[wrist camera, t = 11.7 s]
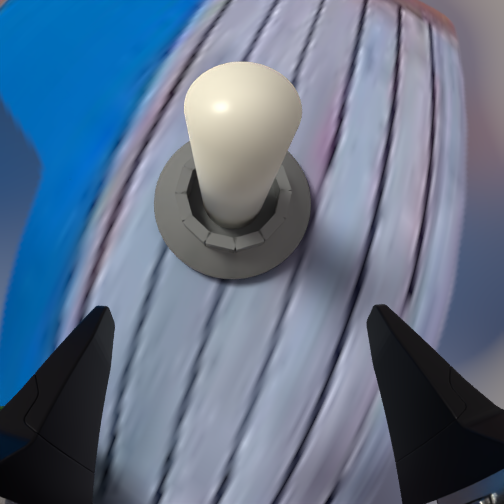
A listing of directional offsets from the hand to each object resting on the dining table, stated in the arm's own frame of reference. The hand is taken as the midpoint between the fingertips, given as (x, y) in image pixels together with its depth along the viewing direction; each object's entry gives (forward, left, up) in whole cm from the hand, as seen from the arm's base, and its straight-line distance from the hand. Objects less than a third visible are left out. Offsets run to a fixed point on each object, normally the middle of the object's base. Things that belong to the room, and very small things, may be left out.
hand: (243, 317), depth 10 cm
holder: (+6, +5, -14) cm, 16 cm away
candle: (+6, +5, -13) cm, 15 cm away
